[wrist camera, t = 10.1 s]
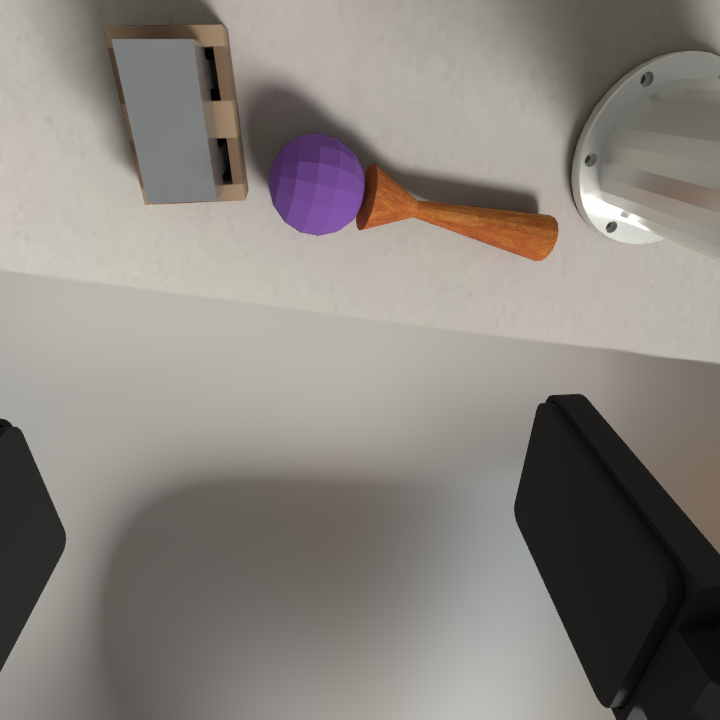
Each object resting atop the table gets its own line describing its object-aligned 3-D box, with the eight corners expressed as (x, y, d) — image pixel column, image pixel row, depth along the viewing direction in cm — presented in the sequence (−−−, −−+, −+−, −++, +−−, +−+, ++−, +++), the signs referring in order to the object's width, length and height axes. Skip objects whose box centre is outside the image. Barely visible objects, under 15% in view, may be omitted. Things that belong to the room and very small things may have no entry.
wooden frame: (227, 29, 28) (221, 24, 26) (248, 190, 33) (245, 200, 30) (119, 30, 28) (102, 25, 25) (156, 194, 32) (145, 204, 30)
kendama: (539, 294, 35) (262, 242, 29) (508, 253, 40) (261, 200, 34) (585, 219, 32) (280, 141, 26) (545, 183, 36) (277, 109, 30)
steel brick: (212, 47, 29) (192, 39, 23) (229, 178, 32) (216, 200, 26) (148, 47, 28) (111, 39, 22) (173, 179, 32) (147, 203, 26)
